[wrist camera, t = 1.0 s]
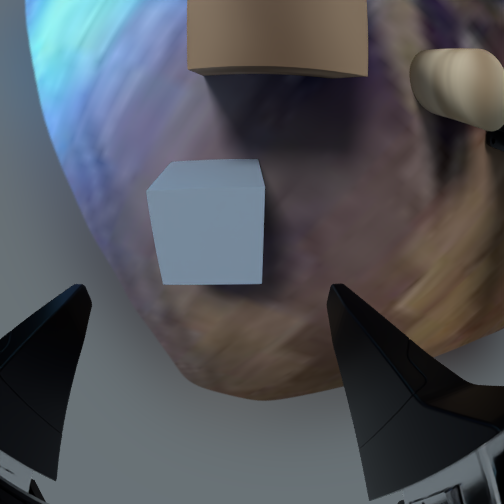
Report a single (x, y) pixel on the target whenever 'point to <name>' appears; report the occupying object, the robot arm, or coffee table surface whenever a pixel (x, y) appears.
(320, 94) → the coffee table surface
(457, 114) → the beech cylinder
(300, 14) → the tan block
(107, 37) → the coffee table surface
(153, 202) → the blue cube
